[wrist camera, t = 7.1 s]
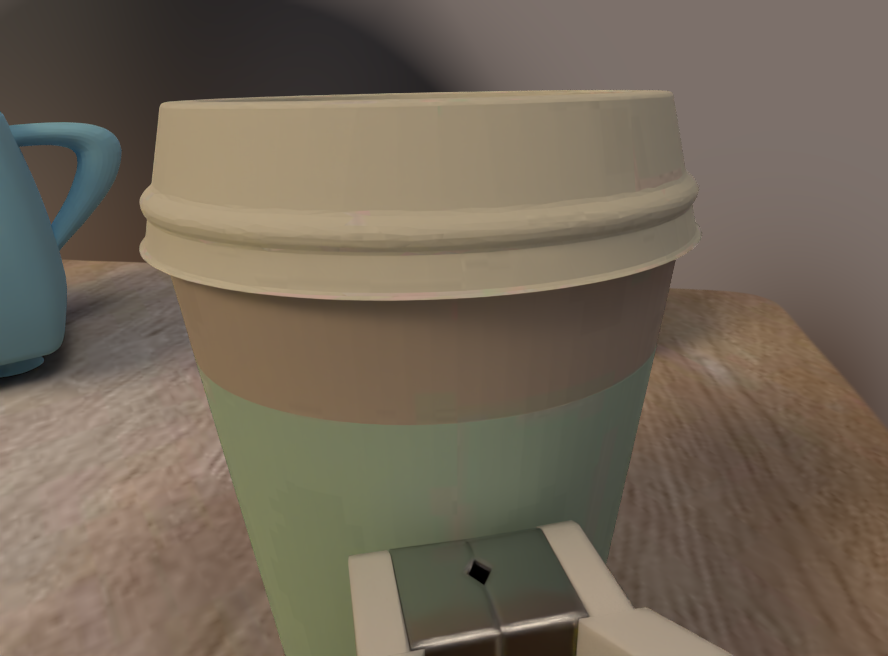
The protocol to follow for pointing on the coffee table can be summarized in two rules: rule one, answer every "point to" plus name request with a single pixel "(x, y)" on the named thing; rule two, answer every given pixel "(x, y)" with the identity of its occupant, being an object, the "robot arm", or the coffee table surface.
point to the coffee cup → (418, 314)
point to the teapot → (43, 235)
